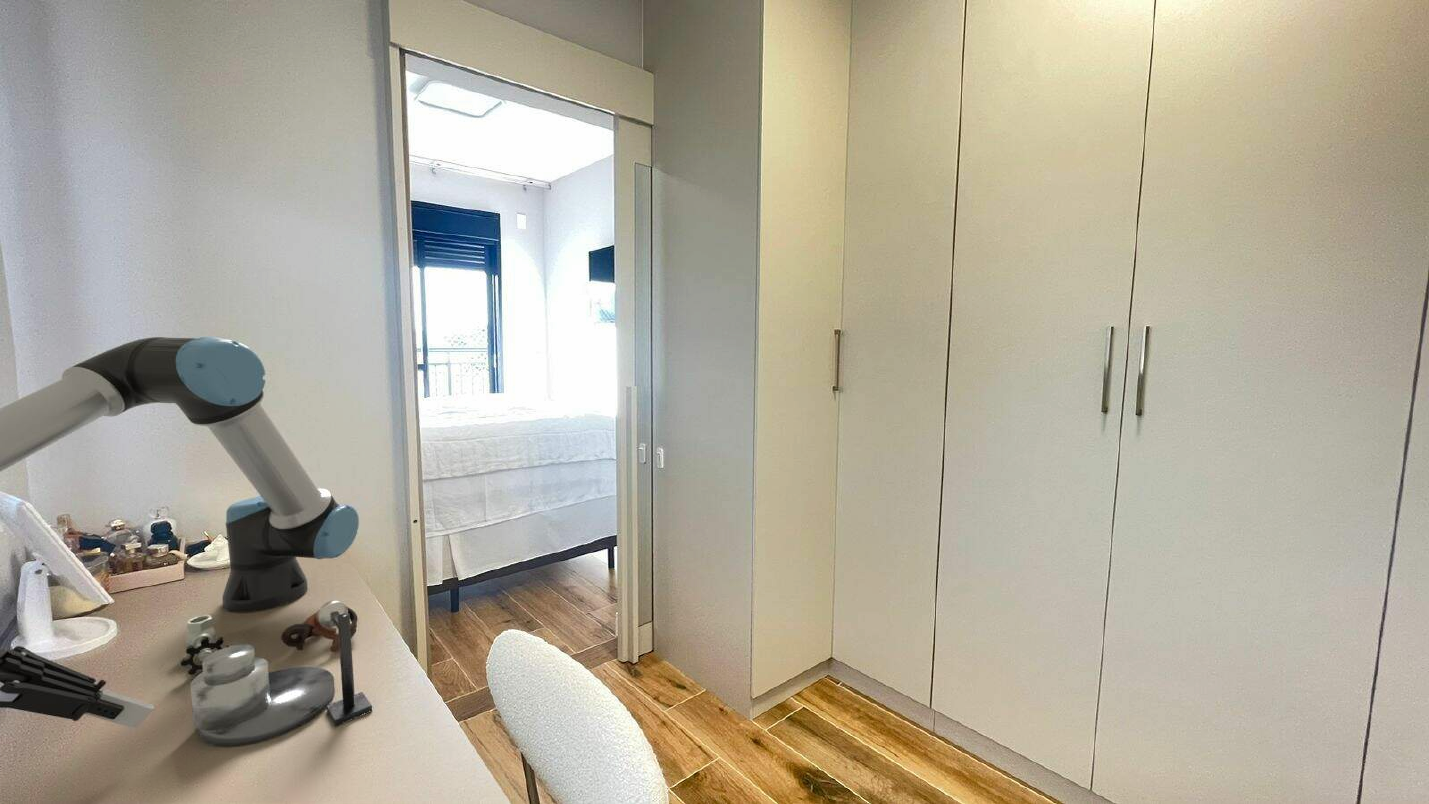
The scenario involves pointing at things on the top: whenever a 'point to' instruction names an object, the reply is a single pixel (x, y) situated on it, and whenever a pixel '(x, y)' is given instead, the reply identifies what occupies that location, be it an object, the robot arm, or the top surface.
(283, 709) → the grey metal flat disc
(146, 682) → the top surface
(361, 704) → the dial stand
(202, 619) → the valve
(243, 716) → the cover
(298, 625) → the brown irregular ringed piece
